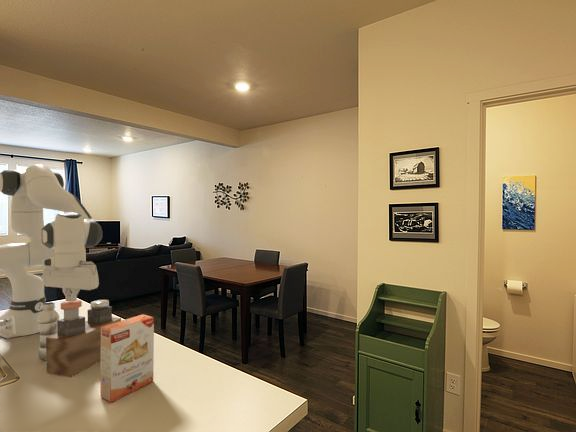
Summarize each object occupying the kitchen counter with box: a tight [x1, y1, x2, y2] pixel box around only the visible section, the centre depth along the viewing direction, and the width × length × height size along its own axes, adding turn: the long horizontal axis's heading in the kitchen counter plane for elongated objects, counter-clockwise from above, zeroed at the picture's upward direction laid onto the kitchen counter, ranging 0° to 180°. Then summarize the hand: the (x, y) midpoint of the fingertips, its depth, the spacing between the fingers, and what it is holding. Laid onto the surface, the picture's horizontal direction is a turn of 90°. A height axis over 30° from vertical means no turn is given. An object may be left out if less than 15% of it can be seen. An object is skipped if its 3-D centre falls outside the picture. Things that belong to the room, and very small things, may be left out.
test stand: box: [46, 305, 122, 378], centre depth 118 cm, size 10×22×17 cm, turn 165°
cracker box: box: [100, 313, 155, 403], centre depth 100 cm, size 14×6×21 cm, turn 148°
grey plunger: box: [89, 299, 110, 310], centre depth 124 cm, size 6×6×6 cm
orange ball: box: [60, 299, 83, 321], centre depth 112 cm, size 6×6×6 cm
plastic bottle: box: [37, 301, 60, 361], centre depth 120 cm, size 6×7×20 cm
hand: (71, 300), depth 112 cm, fingers closed
